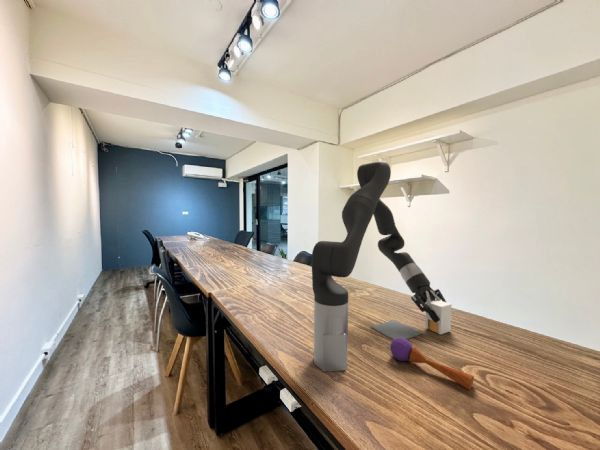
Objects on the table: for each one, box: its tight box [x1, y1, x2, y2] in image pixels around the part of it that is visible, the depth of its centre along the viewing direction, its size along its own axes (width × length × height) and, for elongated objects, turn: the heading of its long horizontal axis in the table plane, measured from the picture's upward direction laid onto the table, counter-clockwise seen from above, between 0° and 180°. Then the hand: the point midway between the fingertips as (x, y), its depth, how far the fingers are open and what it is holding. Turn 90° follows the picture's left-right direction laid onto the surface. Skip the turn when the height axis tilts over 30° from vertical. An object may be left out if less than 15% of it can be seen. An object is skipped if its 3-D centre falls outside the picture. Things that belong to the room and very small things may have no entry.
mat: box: [370, 319, 423, 341], centre depth 90 cm, size 12×12×1 cm
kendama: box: [389, 338, 475, 391], centre depth 68 cm, size 6×6×20 cm
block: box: [428, 320, 439, 334], centre depth 90 cm, size 4×4×4 cm
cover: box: [425, 299, 452, 335], centre depth 90 cm, size 6×6×10 cm
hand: (443, 319), depth 89 cm, fingers closed on cover, 5 cm apart
